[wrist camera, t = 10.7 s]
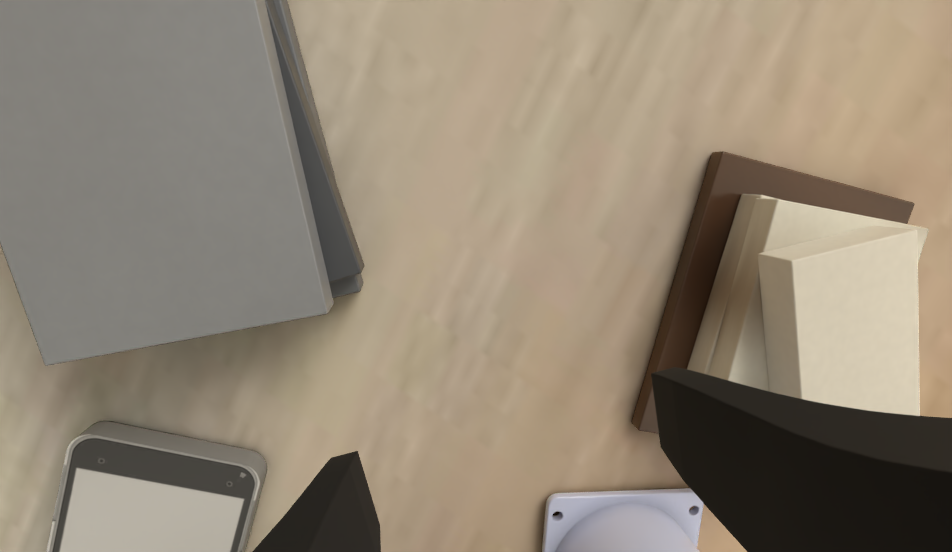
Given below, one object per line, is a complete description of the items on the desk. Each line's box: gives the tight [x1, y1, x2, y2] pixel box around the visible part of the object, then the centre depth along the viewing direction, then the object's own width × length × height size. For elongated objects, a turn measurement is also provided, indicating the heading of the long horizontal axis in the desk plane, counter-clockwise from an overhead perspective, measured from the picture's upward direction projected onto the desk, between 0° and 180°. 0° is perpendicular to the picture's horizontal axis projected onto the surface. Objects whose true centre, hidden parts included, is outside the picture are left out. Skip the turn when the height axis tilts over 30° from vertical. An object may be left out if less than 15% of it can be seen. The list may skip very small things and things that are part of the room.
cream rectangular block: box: [758, 225, 920, 416], centre depth 19 cm, size 8×5×2 cm, turn 12°
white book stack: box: [632, 152, 929, 433], centre depth 22 cm, size 13×10×3 cm
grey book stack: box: [0, 0, 364, 366], centre depth 17 cm, size 13×10×4 cm
